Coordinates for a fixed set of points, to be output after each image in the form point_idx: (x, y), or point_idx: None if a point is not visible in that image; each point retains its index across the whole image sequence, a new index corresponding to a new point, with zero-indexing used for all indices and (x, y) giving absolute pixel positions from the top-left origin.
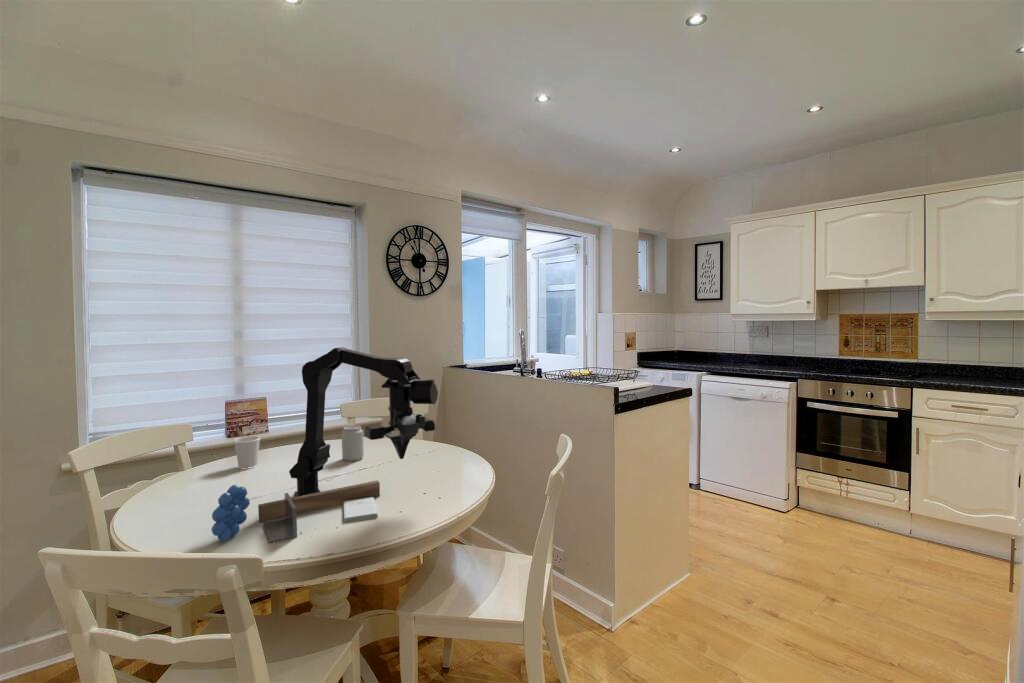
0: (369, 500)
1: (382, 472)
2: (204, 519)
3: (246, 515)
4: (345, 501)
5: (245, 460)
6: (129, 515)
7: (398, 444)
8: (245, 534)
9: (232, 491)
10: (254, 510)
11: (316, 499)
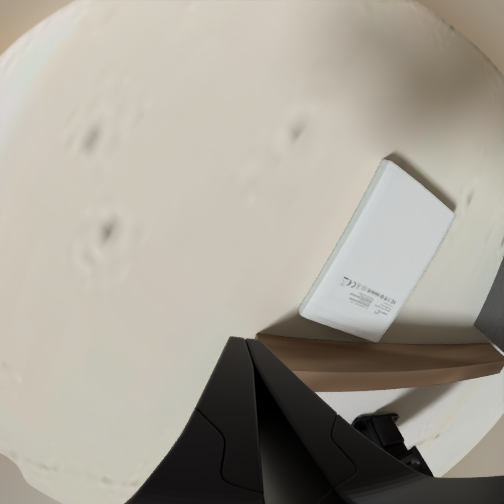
0: (333, 296)
1: (148, 458)
2: (487, 394)
3: None
4: (378, 338)
5: None
6: (484, 434)
7: (363, 456)
8: None
9: None
10: (454, 399)
11: (438, 361)
